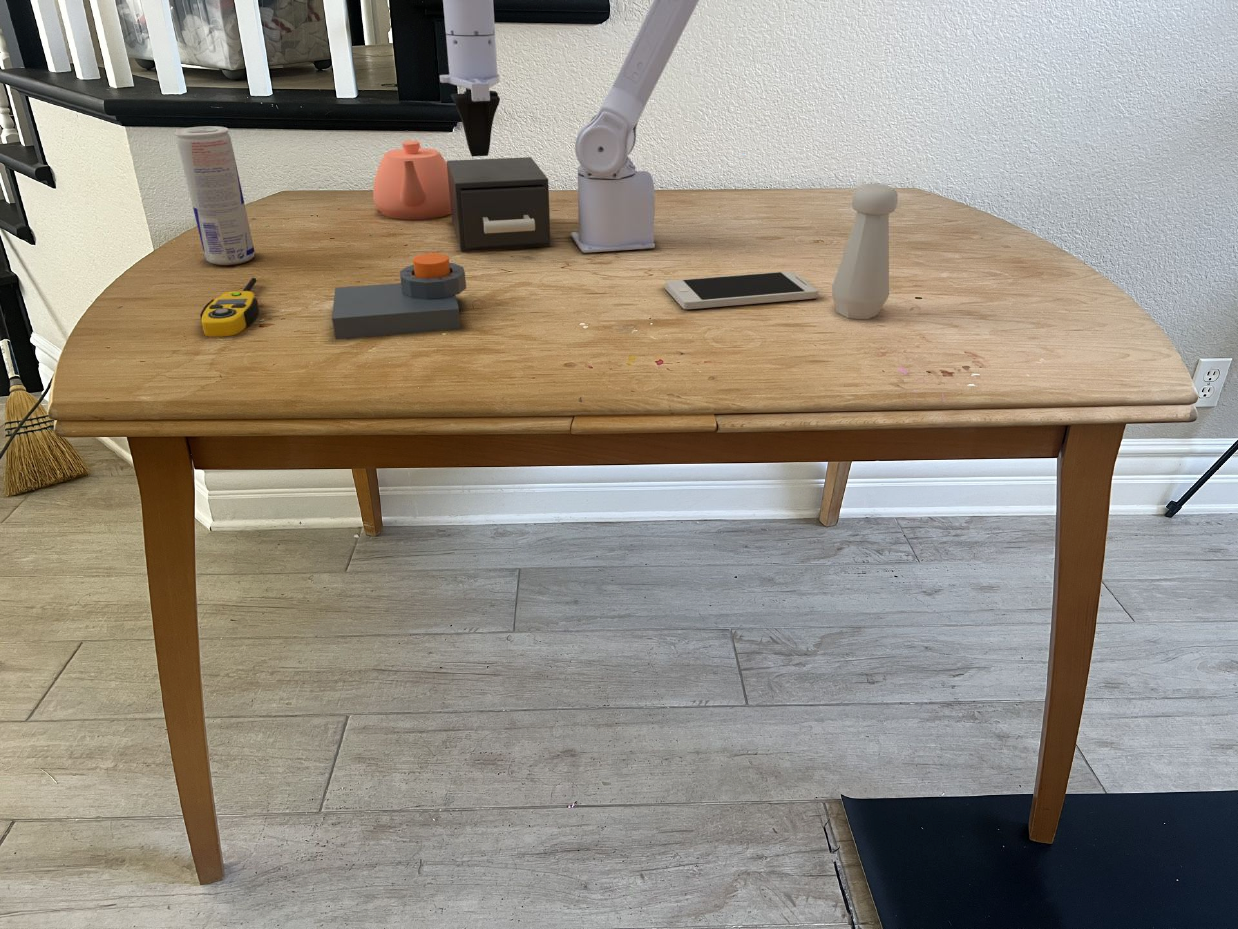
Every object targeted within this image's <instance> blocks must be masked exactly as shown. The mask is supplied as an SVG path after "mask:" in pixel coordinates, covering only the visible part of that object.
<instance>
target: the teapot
mask: <svg viewBox="0 0 1238 929" xmlns="http://www.w3.org/2000/svg"><path fill="white" fill-rule="evenodd" d="M420 144H421V143H420V141H418V140H405V141H403V142H401V146H402V148H397V149H392V150H388V151H386V152H385V153H384V155H383V156H382V158H381V160H380V162H379V165H378V168H377V170H376V173H375V176H374V181H373V190H372V198H373V203H374V206H375V207H376V208H377V209H378V210H379V212H380V213H381V214H382V215H383V216H385V217H387V218H390V219H395V220H396V219H397V220H398V219H399V220H427V219H436V218H441V217H445V216H448V215H451V205H450V194H449V183H448V172H447V160H446V159H445V158H444V156H443V155H442V154H441V152H440V151H439V150H437V149H434V148H426V147H421V145H420Z"/></svg>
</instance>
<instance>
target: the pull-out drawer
mask: <svg viewBox="0 0 1238 929" xmlns="http://www.w3.org/2000/svg"><path fill="white" fill-rule="evenodd" d="M461 202H462V213H463V225H464V237H465V246H466V248H470V247H485V246H501V245H517V244H533V243H547V219H546V190H545V187H544V186H540V187H537V185H529V186H509V187H488V188H467V189H461Z"/></svg>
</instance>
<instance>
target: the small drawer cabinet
mask: <svg viewBox="0 0 1238 929" xmlns="http://www.w3.org/2000/svg"><path fill="white" fill-rule="evenodd" d="M446 163H447V172H448V183H449V194H450V205H451V213H450V215H451V224H452V228H453V231H454V234H455V237H456V240H457V244H458V247H459V250H460V252H461V253H465V252H466V253H467V252H481V251H496V250H511V249H512V250H513V249H527V248H529V249H530V248H542V247H544V248H545V247H551V221H550V220H551V219H550V186H549V178H548V177H547V176H546V174H545V173H544V172H543V170H542V169H541V167H539V165H538V164H537V163H536V162H535V160H534V159H533V157H531V156H525V157H524V156H523V157H501V158H478V159H476V158H475V159H456V160H454V159H453V160H452V159H451V160H446ZM529 185H537V187H540V186H544V187H545V190H546V219H547V243H533V244H517V245H501V246H485V247H470V248H466V246H465V237H464V225H463V213H462V202H461V189H467V188H488V187H509V186H529Z"/></svg>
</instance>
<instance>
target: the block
mask: <svg viewBox="0 0 1238 929" xmlns="http://www.w3.org/2000/svg"><path fill="white" fill-rule="evenodd" d="M449 266H450V274H449V275H447V276H444V277H440V278H419V277H416V276H415V273H414V264H411V265H407V266H405V267H404V268H403V269H401V270H399V277H400V282H398V283H397V282H396V283H384V284H383V283H382V284H368V285H354V286H352V285H351V286H340V287H335V288H334V295H333V304H332V305H333V306H332V315H331V321H332V326H333V332H334V338H335V340H342V339H343V340H344V339H345V340H346V339H354V338H368V337H369V338H370V337H379V336H391V335H404V334H416V333H417V334H418V333H428V332H438V331H439V332H440V331H452V330H461V329H462V328H461V326H462V325H461V317H460V308H459V303H458V300H457V295H460V294H461V293H462V292H463V291H465V290H466V289H467V280H466V271H465V267H464V266H462V265H459V264H457V263H454V262H449Z"/></svg>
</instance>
